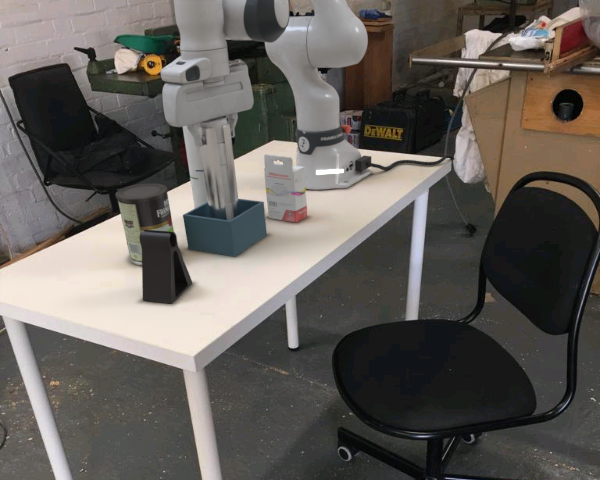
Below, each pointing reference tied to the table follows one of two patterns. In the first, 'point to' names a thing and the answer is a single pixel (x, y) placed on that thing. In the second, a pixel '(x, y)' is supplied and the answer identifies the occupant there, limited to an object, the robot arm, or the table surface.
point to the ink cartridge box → (285, 189)
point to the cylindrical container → (195, 169)
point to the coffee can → (143, 214)
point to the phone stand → (162, 267)
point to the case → (225, 229)
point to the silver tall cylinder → (219, 169)
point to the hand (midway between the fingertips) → (215, 141)
